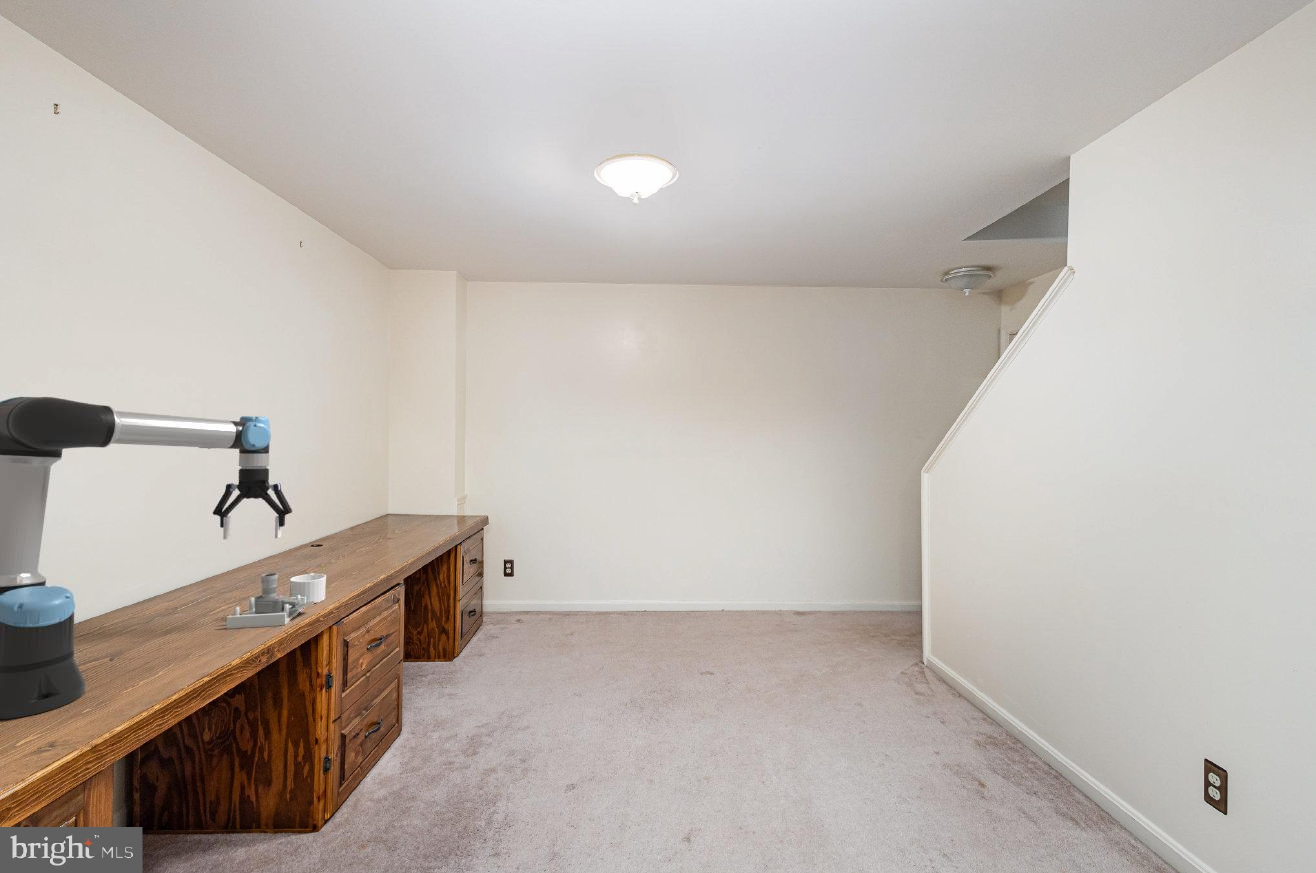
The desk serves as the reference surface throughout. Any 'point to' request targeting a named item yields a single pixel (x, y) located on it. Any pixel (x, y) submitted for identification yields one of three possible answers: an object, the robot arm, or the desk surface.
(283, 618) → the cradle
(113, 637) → the desk surface
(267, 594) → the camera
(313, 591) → the mug
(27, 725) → the desk surface
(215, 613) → the desk surface
